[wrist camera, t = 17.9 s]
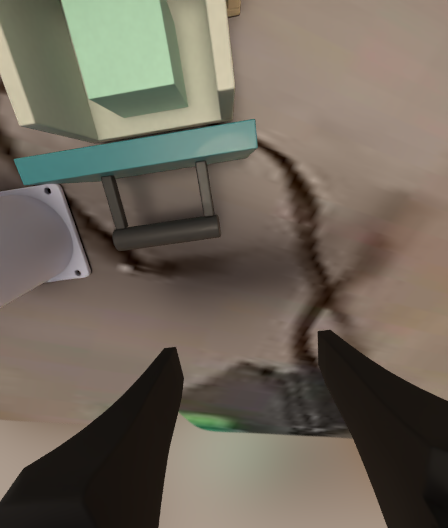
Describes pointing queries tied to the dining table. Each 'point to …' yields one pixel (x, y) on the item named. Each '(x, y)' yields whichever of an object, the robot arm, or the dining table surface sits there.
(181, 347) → the dining table surface
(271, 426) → the dining table surface
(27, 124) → the drawer
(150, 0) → the sage green cube
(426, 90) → the dining table surface
